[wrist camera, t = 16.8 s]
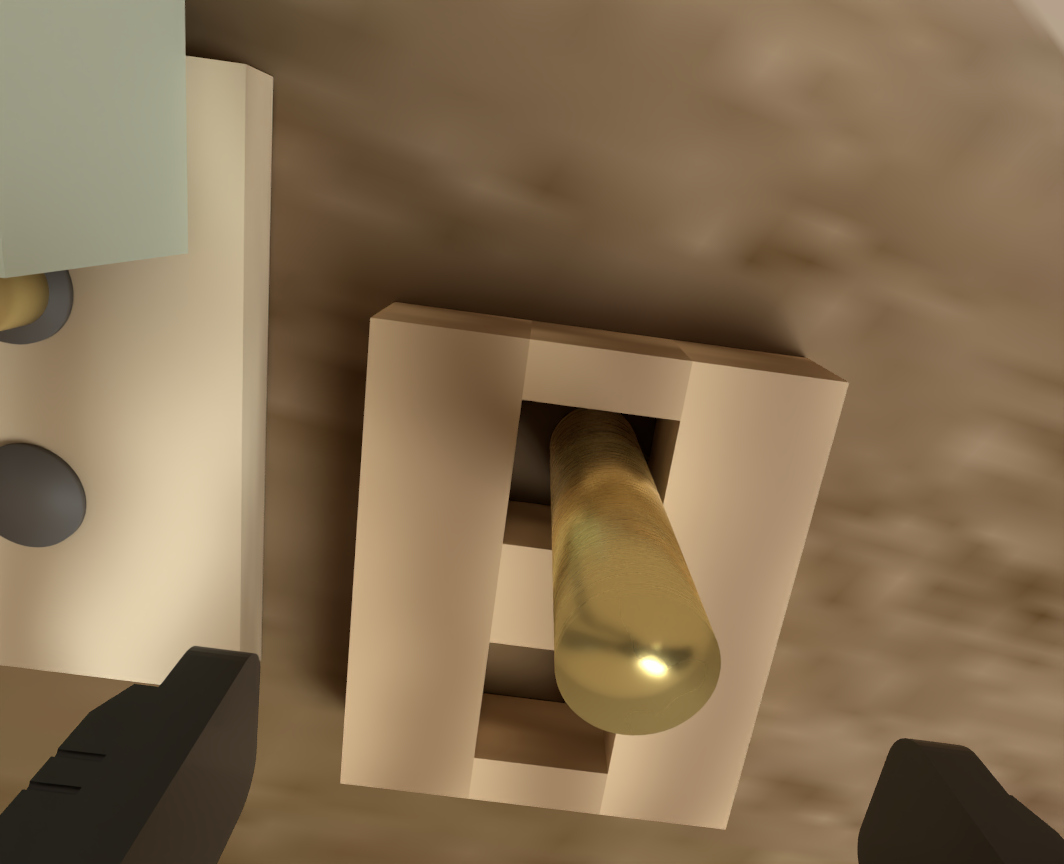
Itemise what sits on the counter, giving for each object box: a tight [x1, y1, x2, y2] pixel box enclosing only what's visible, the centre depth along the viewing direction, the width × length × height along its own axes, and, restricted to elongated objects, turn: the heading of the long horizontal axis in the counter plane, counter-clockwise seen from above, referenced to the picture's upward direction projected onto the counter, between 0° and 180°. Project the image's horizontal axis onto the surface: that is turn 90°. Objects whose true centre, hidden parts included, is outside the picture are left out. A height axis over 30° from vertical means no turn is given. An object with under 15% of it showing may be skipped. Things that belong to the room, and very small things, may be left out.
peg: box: [550, 408, 721, 736], centre depth 14 cm, size 2×2×9 cm
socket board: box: [340, 302, 849, 829], centre depth 18 cm, size 10×12×2 cm
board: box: [0, 56, 273, 685], centre depth 16 cm, size 10×15×4 cm, turn 172°
